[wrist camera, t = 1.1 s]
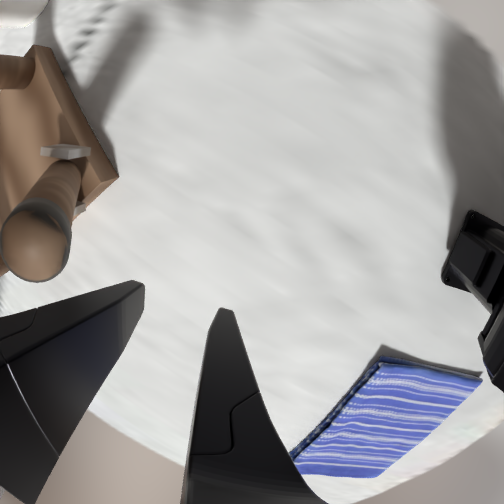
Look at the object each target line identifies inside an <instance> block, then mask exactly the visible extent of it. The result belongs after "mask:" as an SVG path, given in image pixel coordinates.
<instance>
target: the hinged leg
mask: <svg viewBox="0 0 504 504" xmlns="http://www.w3.org/2000/svg"><path fill="white" fill-rule="evenodd" d="M80 185H81V172H80V170H79V168H78V166H77V165H76V164H75V163H74V162H72V161H70V160H66V159H62V160H58V161H55V162H54V163H52V164H51V165H50V166H49V167H48V169H47V170H46V171H45V172H44V173H43V174H42V176H41V177H40V178H39V179H38V181H37V182H36V183H35V184H34V186H33V187H32V188H31V190H30V191H29V192H28V193H27V195H26V196H25V197H24V199H23V200H22V202H21V203H19V204H18V205H17V206H16V207H15V208H14V209H13V210H12V212H11V213H10V215H9V216H8V217H7V219H6V220H5V222H4V223H3V226H2V228H1V231H0V254H1V257H2V259H3V261H4V263H5V265H6V266H7V267H8V269H9V270H10V271H11V272H12V273H13V274H14V275H16V276H17V277H19V278H21V279H23V280H25V281H28V282H35V283H39V282H45V281H48V280H51V279H53V278H54V277H56V276H57V275H58V274H59V273H61V271H62V270H63V269H64V267H65V266H66V263H67V261H68V258H69V253H70V246H71V239H72V231H71V226H72V221H73V216H74V211H75V206H76V202H77V197H78V193H79V189H80Z"/></svg>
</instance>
